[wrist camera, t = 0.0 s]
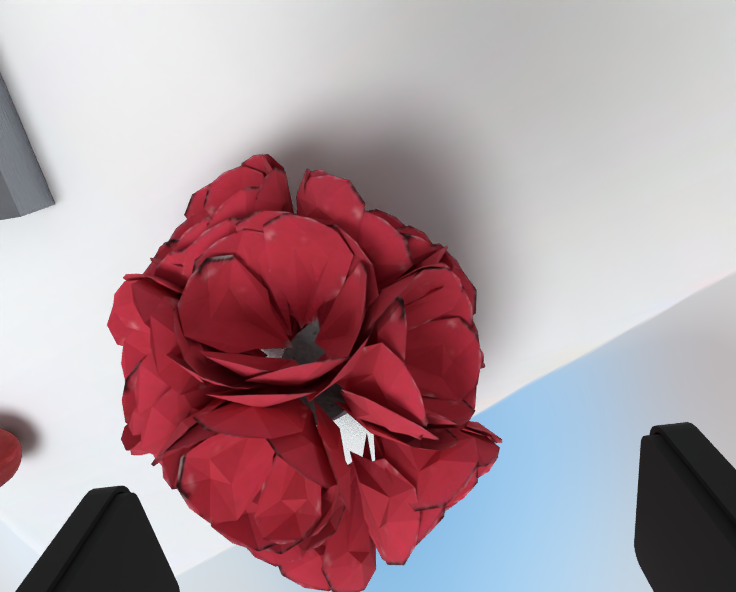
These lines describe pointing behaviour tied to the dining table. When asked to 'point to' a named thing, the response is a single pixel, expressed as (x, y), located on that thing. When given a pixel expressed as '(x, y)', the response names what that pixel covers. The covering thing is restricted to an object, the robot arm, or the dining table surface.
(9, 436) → the onion
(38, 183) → the block
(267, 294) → the bouquet
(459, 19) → the dining table surface
